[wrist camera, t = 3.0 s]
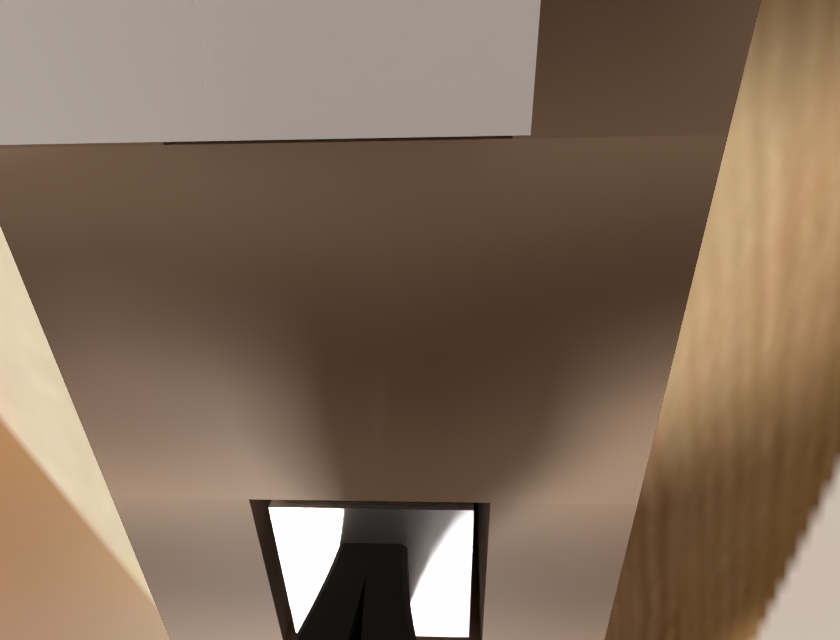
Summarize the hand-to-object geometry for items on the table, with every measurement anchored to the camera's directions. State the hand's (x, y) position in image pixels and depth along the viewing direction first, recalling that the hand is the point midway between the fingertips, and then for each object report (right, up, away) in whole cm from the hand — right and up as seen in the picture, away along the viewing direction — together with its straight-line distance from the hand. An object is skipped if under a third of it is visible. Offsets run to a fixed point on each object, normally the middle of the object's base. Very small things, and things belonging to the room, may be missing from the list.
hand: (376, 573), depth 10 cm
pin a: (0, +2, +4) cm, 4 cm away
